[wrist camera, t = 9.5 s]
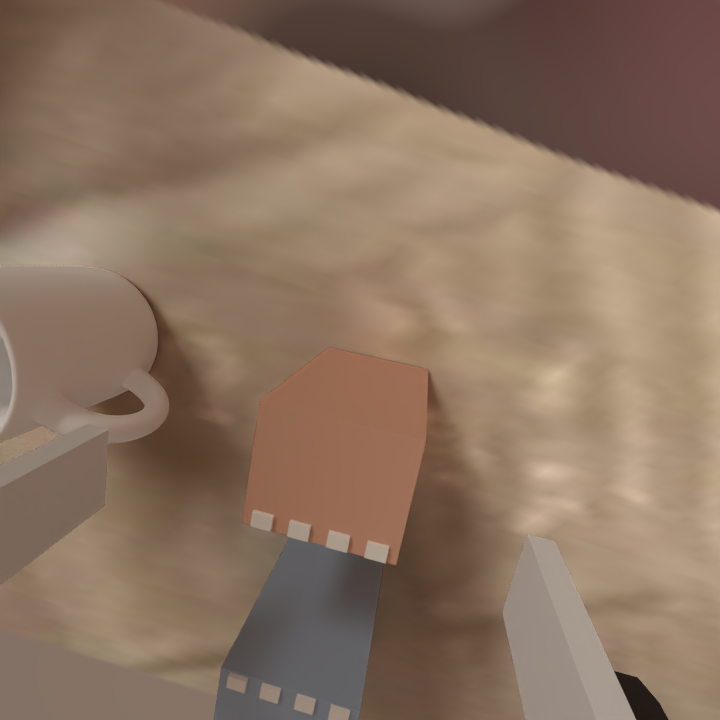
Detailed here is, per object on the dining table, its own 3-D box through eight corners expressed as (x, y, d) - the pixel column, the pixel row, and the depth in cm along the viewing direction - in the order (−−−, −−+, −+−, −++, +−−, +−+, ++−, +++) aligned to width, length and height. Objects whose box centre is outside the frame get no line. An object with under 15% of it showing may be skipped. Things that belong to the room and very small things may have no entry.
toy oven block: (297, 522, 29) (219, 671, 18) (386, 546, 29) (359, 715, 18) (279, 622, 31) (198, 811, 20) (363, 646, 30) (325, 856, 20)
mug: (234, 352, 28) (123, 399, 18) (172, 450, 30) (42, 541, 20) (79, 239, 28) (-119, 222, 18) (28, 344, 30) (-175, 382, 20)
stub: (328, 347, 26) (257, 401, 16) (428, 369, 26) (426, 442, 15) (315, 424, 28) (239, 526, 17) (409, 448, 27) (395, 568, 16)
